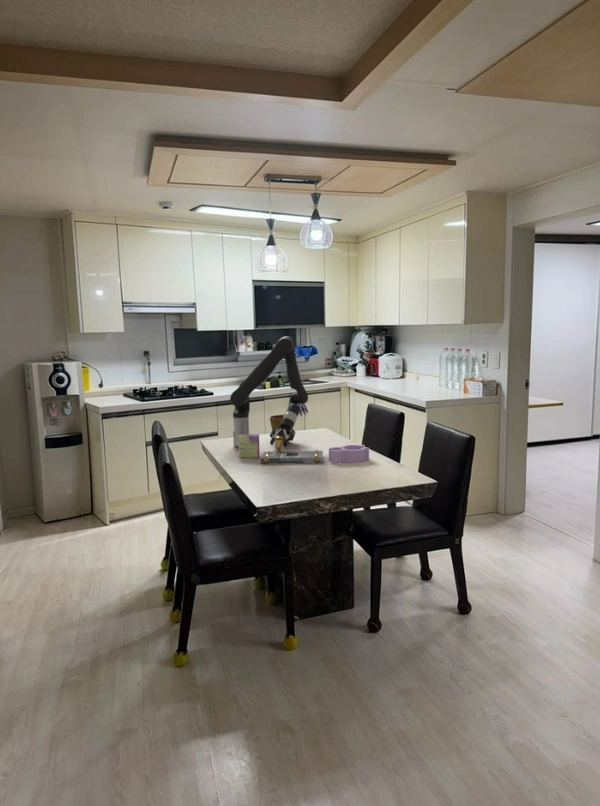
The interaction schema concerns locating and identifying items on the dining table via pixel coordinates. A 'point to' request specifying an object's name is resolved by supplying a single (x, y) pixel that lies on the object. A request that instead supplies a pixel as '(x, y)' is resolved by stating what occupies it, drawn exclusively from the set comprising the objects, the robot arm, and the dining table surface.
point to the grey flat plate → (292, 457)
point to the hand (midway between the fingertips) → (277, 445)
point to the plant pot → (277, 423)
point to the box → (248, 445)
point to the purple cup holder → (349, 454)
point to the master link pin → (278, 443)
